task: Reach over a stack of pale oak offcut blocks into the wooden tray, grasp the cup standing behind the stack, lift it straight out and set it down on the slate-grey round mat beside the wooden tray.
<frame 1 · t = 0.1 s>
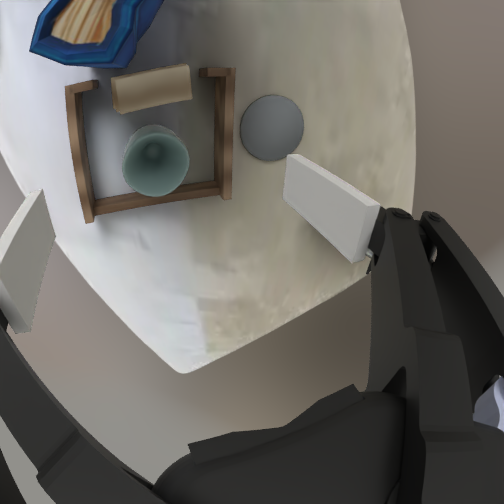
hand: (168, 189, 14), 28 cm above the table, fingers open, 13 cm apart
mat: (272, 127, 43), on the table
offcut mid: (149, 86, 30), point 2 cm above the table, touching offcut low, offcut top
offcut top: (152, 88, 29), point 5 cm above the table, touching offcut mid
cup: (150, 145, 37), resting in wooden tray
wooden tray: (150, 136, 36), on the table
book: (135, 4, 24), on the table
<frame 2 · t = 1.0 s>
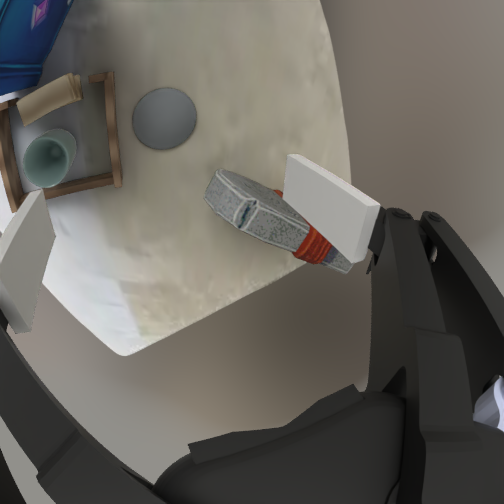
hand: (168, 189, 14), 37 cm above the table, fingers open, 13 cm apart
decorative stone tablet: (260, 196, 60), on the table
mat: (164, 118, 43), on the table
offcut mid: (50, 97, 31), point 2 cm above the table, touching offcut low, offcut top
offcut top: (47, 99, 29), point 5 cm above the table, touching offcut mid
offcut low: (55, 96, 33), on the table, touching offcut mid
cup: (60, 146, 38), resting in wooden tray
wooden tray: (58, 138, 37), on the table
book: (42, 31, 25), on the table
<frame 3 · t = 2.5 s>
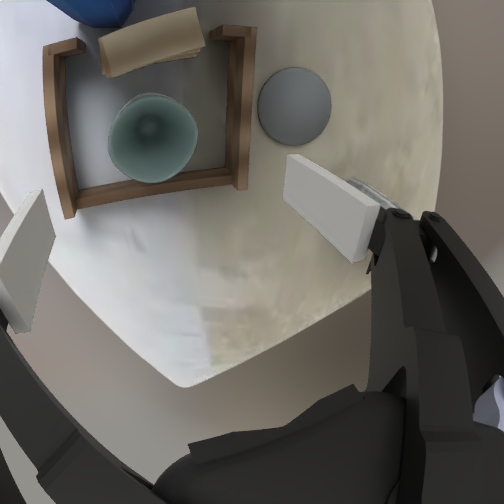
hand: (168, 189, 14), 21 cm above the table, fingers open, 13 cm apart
decorative stone tablet: (369, 209, 51), on the table
mat: (295, 106, 34), on the table
offcut mid: (147, 45, 22), point 2 cm above the table, touching offcut low, offcut top
offcut top: (151, 42, 20), point 5 cm above the table, touching offcut mid
cup: (147, 122, 29), resting in wooden tray
wooden tray: (147, 110, 28), on the table
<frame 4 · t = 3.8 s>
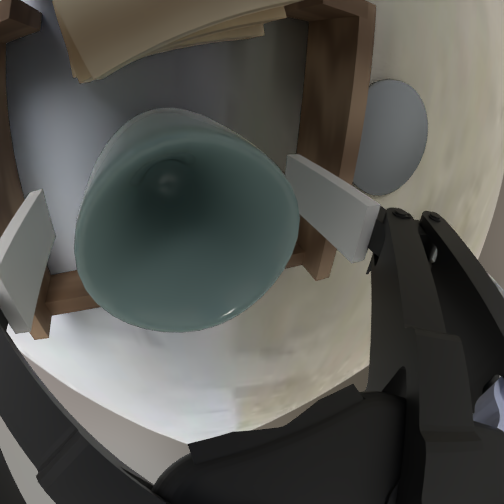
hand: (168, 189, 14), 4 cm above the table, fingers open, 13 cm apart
mat: (388, 138, 22), on the table
offcut mid: (165, 9, 9), point 2 cm above the table, touching offcut low, offcut top
offcut low: (159, 20, 11), on the table, touching offcut mid
cup: (160, 161, 17), resting in wooden tray
wooden tray: (159, 139, 16), on the table
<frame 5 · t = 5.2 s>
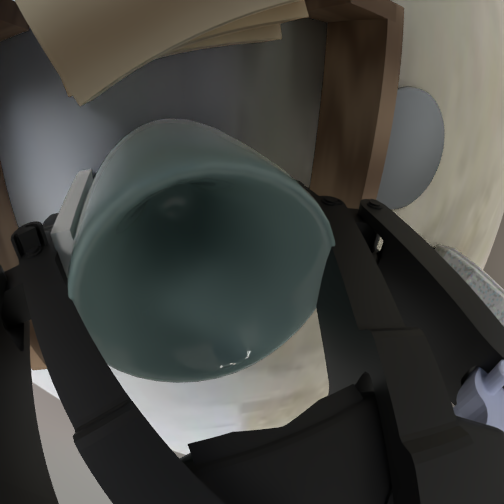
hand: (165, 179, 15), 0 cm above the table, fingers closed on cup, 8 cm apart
decorative stone tablet: (442, 268, 37), on the table
mat: (405, 148, 20), on the table
offcut mid: (167, 7, 8), point 2 cm above the table, touching offcut low, offcut top
offcut low: (162, 20, 10), on the table, touching offcut mid
cup: (164, 177, 15), resting in wooden tray, touching gripper
wooden tray: (163, 152, 14), on the table
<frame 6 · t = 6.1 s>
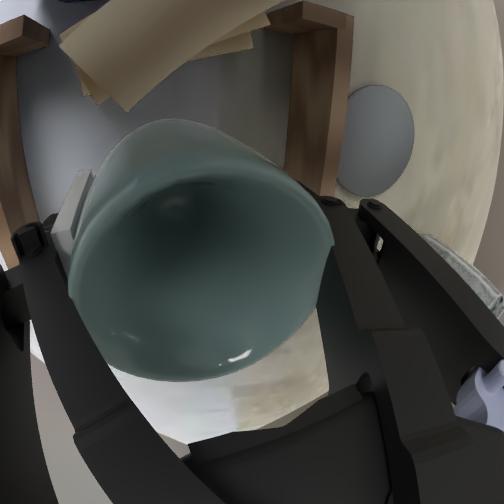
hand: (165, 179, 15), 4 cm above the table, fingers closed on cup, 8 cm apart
decorative stone tablet: (426, 258, 40), on the table
mat: (374, 141, 24), on the table
offcut mid: (161, 29, 11), point 2 cm above the table, touching offcut low
offcut top: (171, 19, 9), point 5 cm above the table
offcut low: (158, 38, 13), on the table, touching offcut mid
cup: (164, 177, 15), point 4 cm above the table, touching gripper
wooden tray: (158, 146, 17), on the table
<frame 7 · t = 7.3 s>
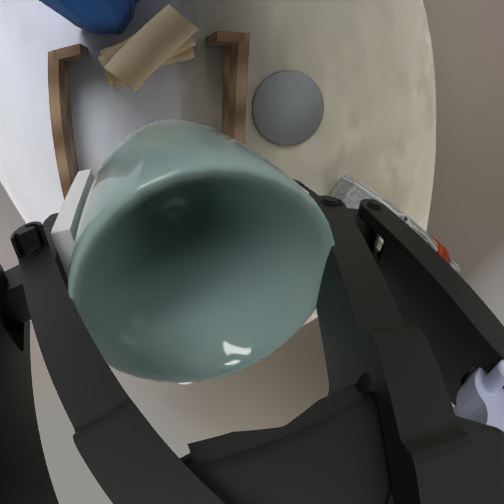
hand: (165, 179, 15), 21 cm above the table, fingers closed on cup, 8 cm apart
decorative stone tablet: (363, 207, 53), on the table
mat: (288, 107, 36), on the table
offcut mid: (146, 51, 24), point 2 cm above the table, touching offcut low, offcut top
offcut top: (149, 48, 22), point 5 cm above the table, touching offcut mid
offcut low: (146, 54, 26), on the table, touching offcut mid
cup: (164, 177, 15), point 21 cm above the table, touching gripper
wooden tray: (146, 113, 30), on the table
when the fingers open (2 cm above the table, at t = 13.1 s): cup drops 1 cm, resting on mat.
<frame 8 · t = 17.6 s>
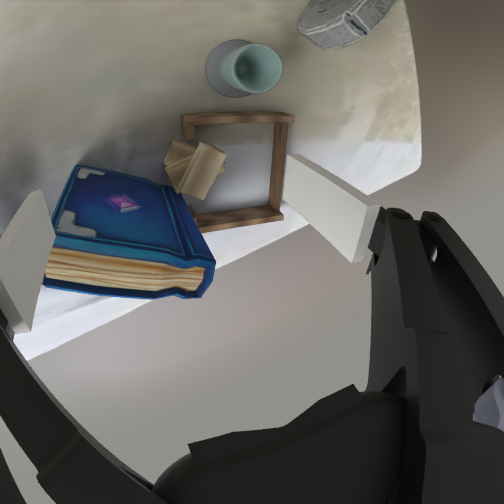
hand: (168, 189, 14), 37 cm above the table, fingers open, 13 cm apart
mat: (236, 68, 42), on the table
offcut mid: (193, 166, 48), point 2 cm above the table
offcut top: (199, 168, 46), point 5 cm above the table
offcut low: (192, 158, 50), on the table
cup: (235, 68, 42), resting on mat
wooden tray: (232, 166, 53), on the table
book: (126, 191, 48), on the table
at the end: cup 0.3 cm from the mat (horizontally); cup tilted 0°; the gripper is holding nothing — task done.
